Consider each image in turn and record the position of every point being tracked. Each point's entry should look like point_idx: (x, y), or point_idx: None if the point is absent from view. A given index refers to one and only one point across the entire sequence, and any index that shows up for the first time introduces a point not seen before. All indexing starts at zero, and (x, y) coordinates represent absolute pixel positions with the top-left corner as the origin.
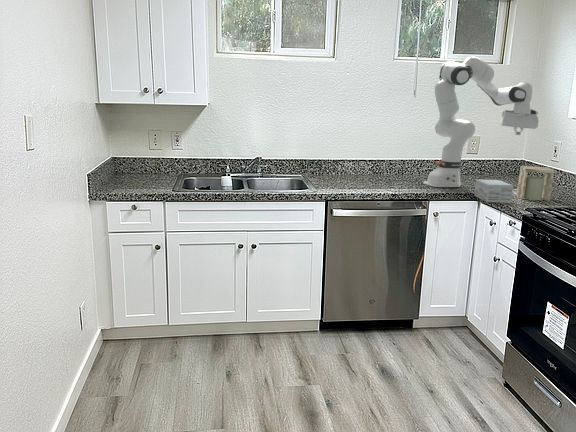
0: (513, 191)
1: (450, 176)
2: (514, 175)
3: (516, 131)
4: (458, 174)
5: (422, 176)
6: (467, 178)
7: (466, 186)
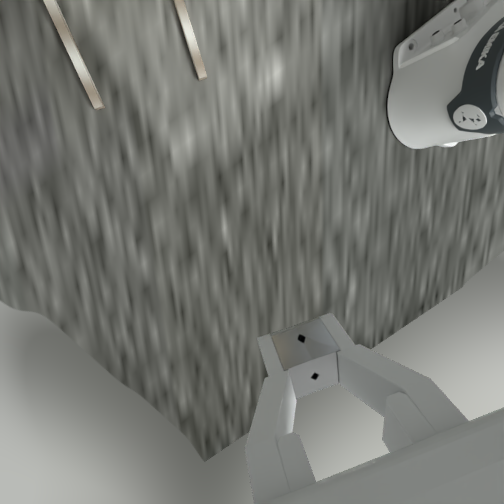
0: (182, 8)
1: (468, 22)
2: (224, 447)
3: (346, 349)
4: (446, 41)
5: (484, 224)
6: (358, 285)
7: (367, 92)
